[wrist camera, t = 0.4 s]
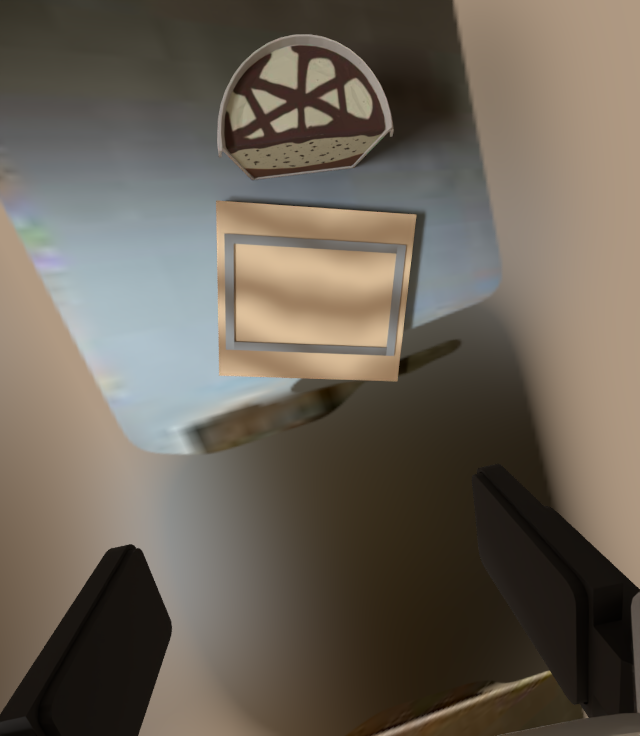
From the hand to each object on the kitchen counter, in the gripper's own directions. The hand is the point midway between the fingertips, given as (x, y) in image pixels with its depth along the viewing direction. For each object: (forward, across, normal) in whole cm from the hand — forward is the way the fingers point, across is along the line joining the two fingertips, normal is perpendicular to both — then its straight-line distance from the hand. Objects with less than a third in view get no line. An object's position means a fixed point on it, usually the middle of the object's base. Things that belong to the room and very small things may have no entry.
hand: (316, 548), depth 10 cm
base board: (+29, -2, -4) cm, 29 cm away
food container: (+29, -4, -18) cm, 34 cm away
